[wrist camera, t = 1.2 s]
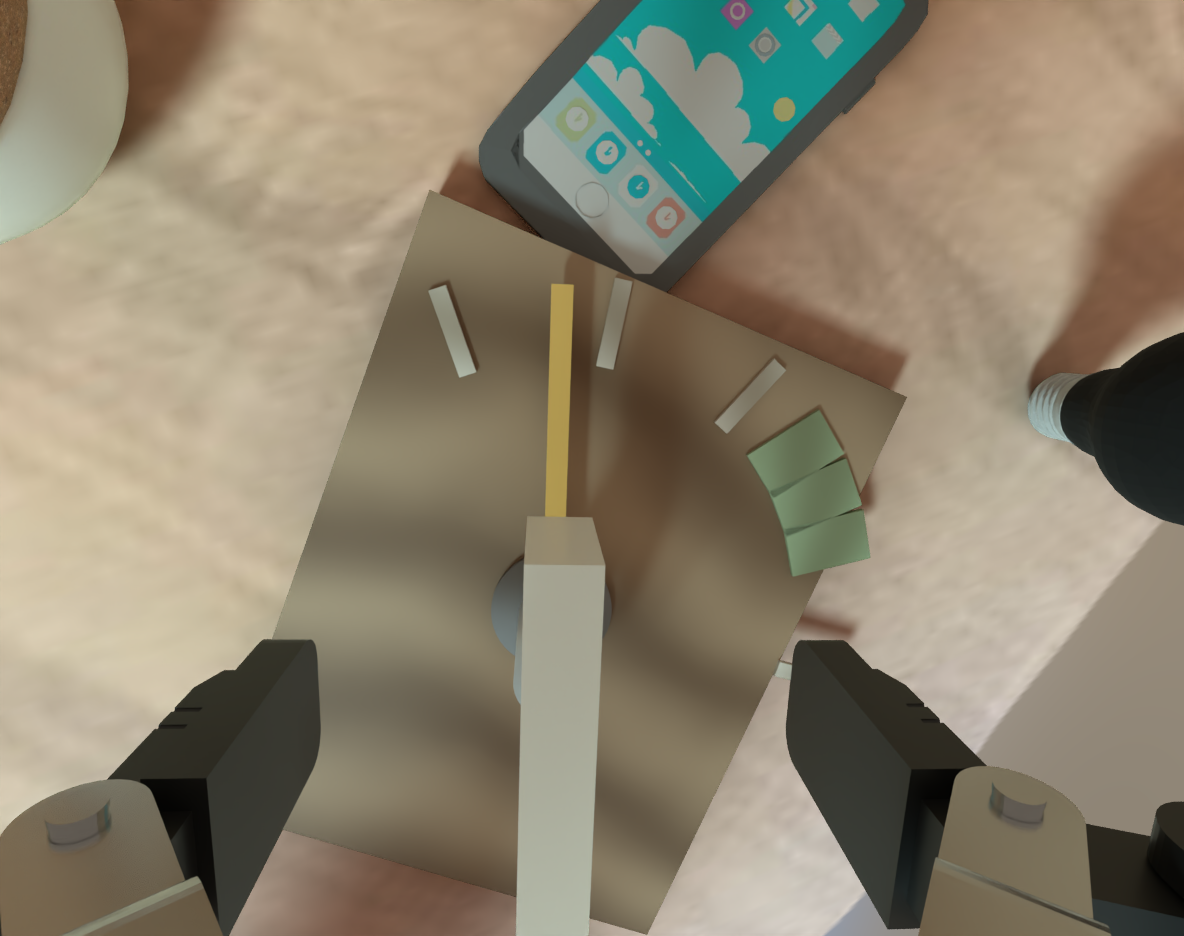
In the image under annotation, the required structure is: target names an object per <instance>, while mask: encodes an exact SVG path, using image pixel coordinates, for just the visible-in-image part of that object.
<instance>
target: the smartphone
mask: <svg viewBox="0 0 1184 936" xmlns="http://www.w3.org/2000/svg"><path fill="white" fill-rule="evenodd" d="M927 14H928V0H600V1H599V2H598V3H597V5H596V6H595V7H594V8H593V9H592V10H591V11H590V12H589V13H588V15H587V16H586V17H585V18H584V19H583V20H582V21H581V22H580V23H579V24H578V26H577V27H576V28H575V29H574V30H573V31H572V32H571V33H570V34H569V35H568V37H567V38H566V39H565V40H564V41H563V42H562V43H561V44H560V45H559V46H558V48H557V49H556V50H555V51H554V52H553V53H552V54H551V55H550V56H549V58H548V59H547V60H546V61H545V62H544V63H543V64H542V65H541V66H540V67H539V69H538V70H537V71H536V72H535V73H534V75H533V76H532V77H531V78H530V79H529V81H528V82H527V83H526V84H525V85H524V86H523V88H522V89H521V90H520V91H519V92H518V94H517V95H516V96H515V97H514V98H513V100H512V101H511V102H510V103H509V104H508V106H507V107H506V108H505V109H504V110H503V112H502V113H501V114H500V115H499V117H498V118H497V119H496V120H495V122H494V123H493V124H492V125H491V126H490V128H489V129H488V130H487V132H486V134H485V136H484V138H483V140H482V142H481V144H480V145H479V162H480V166H481V169H482V172H483V175H484V178H485V180H486V181H487V182H488V183H489V184H490V185H491V186H492V187H493V188H494V189H495V190H496V191H497V192H498V193H499V194H500V195H501V196H502V197H503V198H504V199H505V200H506V201H507V203H508V204H509V205H510V206H511V207H512V208H513V209H514V210H515V211H516V212H517V213H518V214H519V215H520V216H521V217H522V218H523V219H524V220H525V221H526V222H527V223H528V224H529V225H530V226H531V227H532V228H533V229H534V230H535V231H536V232H537V233H538V234H539V235H540V236H541V237H542V238H543V239H544V240H546V241H549V242H551V243H553V244H556V245H558V246H560V247H563V248H565V249H567V250H569V251H572V252H574V253H576V254H579V255H581V256H583V257H586V258H588V259H590V260H592V261H595V262H597V263H599V264H602V265H604V266H606V267H609V268H611V269H613V270H615V271H618V272H620V273H622V274H625V275H627V276H629V277H632V278H634V279H636V280H638V281H641V282H643V283H645V284H648V285H650V286H652V287H655V288H657V289H659V290H661V291H664V292H667V291H668V290H669V289H670V288H671V287H672V286H673V285H674V284H675V283H676V282H677V281H678V280H679V279H680V278H681V277H682V276H683V275H684V274H685V273H686V272H687V271H688V270H689V269H690V268H691V267H692V266H693V265H694V264H695V263H696V262H697V260H698V259H699V258H700V257H701V256H702V255H703V254H704V253H705V252H706V251H707V250H708V249H709V248H710V247H711V246H712V245H713V244H714V243H715V242H716V241H717V240H718V239H719V238H720V237H721V236H722V235H723V234H724V233H725V232H726V230H727V229H728V228H729V227H730V226H731V225H732V224H733V223H734V222H735V221H736V220H737V219H738V218H739V217H740V216H741V215H742V214H743V213H744V212H745V211H746V210H747V209H748V208H749V207H750V206H751V205H752V204H753V203H754V202H755V200H756V199H757V198H758V197H759V196H760V195H761V194H762V193H763V192H764V191H765V190H766V189H767V188H768V187H769V186H770V185H771V184H772V183H773V182H774V181H775V180H776V179H777V178H778V177H779V176H780V175H781V174H782V173H783V172H784V171H785V169H786V168H787V167H788V166H789V165H790V164H791V163H792V162H793V161H794V160H795V159H796V158H797V157H798V156H799V155H800V154H801V153H802V152H803V151H804V150H805V149H806V148H807V147H808V146H809V145H810V144H811V143H812V142H813V141H814V139H815V138H816V137H817V136H818V135H819V134H820V133H821V132H822V131H823V130H824V129H825V128H826V127H827V126H828V125H829V124H830V123H831V122H832V121H833V120H834V119H835V118H836V117H837V116H838V115H839V114H840V113H841V112H843V113H844V114H846V113H847V112H848V111H849V110H850V109H851V108H852V107H853V106H854V105H855V104H856V103H857V102H858V101H859V100H860V99H861V98H862V97H863V96H864V95H865V94H866V93H867V92H868V91H869V90H870V89H871V88H872V87H873V86H874V84H875V79H874V77H875V76H876V75H877V74H878V73H879V72H880V71H881V70H882V69H883V68H884V67H885V66H886V65H887V64H888V63H889V62H890V61H891V60H892V59H893V58H894V57H895V56H896V55H897V54H898V53H899V52H900V51H901V50H902V48H903V47H904V46H905V45H906V44H907V43H908V41H909V40H910V39H911V38H912V37H913V36H914V34H915V33H916V32H917V31H918V29H919V27H920V26H921V24H922V23H923V21H924V19H925V18H926V16H927Z"/></svg>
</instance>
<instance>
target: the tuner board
mask: <svg viewBox="0 0 1184 936" xmlns="http://www.w3.org/2000/svg"><path fill="white" fill-rule="evenodd" d="M551 284H570V285H574V291H573V320H572V350H571V380H570V410H569V439H568V469H567V499H566V517H592V518H593V522H594V526H595V529H596V533H597V537H598V540H599V544H600V547H601V551H602V555H603V558H604V562H605V587H604V609H603V631H602V653H601V674H600V696H599V718H598V740H597V762H596V784H595V806H594V827H593V849H592V871H591V893H590V915H589V918H591V919H594V920H598V921H601V922H605V923H608V924H611V925H615V926H618V927H622V928H625V929H629V930H632V931H636V932H639V933H643V934H646V935H647V934H648V931H649V929H650V927H651V925H652V923H653V921H654V919H655V917H656V915H657V913H658V911H659V909H660V907H661V905H662V903H663V900H664V898H665V896H666V894H667V892H668V890H669V888H670V886H671V884H672V882H673V880H674V878H675V876H676V874H677V872H678V869H679V867H680V865H681V863H682V861H683V859H684V857H685V855H686V853H687V851H688V849H689V847H690V845H691V843H692V841H693V838H694V836H695V834H696V832H697V830H698V828H699V826H700V824H701V822H702V820H703V818H704V816H705V814H706V812H707V810H708V807H709V805H710V803H711V801H712V799H713V797H714V795H715V793H716V791H717V789H718V787H719V785H720V783H721V781H722V779H723V776H724V774H725V772H726V770H727V768H728V766H729V764H730V762H731V760H732V758H733V756H734V754H735V752H736V750H737V748H738V745H739V743H740V741H741V739H742V737H743V735H744V733H745V731H746V729H747V727H748V725H749V723H750V721H751V719H752V717H753V714H754V712H755V710H756V708H757V706H758V704H759V702H760V700H761V698H762V696H763V694H764V692H765V690H766V688H767V686H768V683H769V681H770V679H771V677H772V675H773V674H774V676H776V677H780V678H783V679H787V680H791V671H792V663H789V662H785V661H781V660H780V659H781V657H782V655H783V652H784V650H785V648H786V646H787V644H788V642H789V640H790V638H791V636H792V634H793V632H794V630H795V628H796V626H797V624H798V621H799V619H800V617H801V615H802V613H803V611H804V609H805V607H806V605H807V603H808V601H809V599H810V597H811V595H812V593H813V590H814V588H815V586H816V584H817V582H818V580H819V578H820V576H821V574H822V572H823V570H824V569H827V568H831V567H835V566H839V565H843V564H847V563H852V562H856V561H860V560H864V559H868V558H870V551H869V545H868V538H867V531H866V524H865V517H864V510H862V509H858V510H854V511H852V510H853V509H854V508H857V507H859V506H861V505H862V503H861V500H860V497H859V495H860V493H861V491H862V489H863V487H864V485H865V483H866V481H867V479H868V477H869V475H870V473H871V471H872V468H873V466H874V464H875V462H876V460H877V458H878V456H879V454H880V452H881V450H882V448H883V446H884V444H885V442H886V440H887V437H888V435H889V433H890V431H891V429H892V427H893V425H894V423H895V421H896V419H897V417H898V415H899V413H900V411H901V409H902V406H903V404H904V402H905V400H906V398H907V397H905V396H903V395H901V394H899V393H896V392H894V391H892V390H889V389H887V388H885V387H882V386H880V385H878V384H876V383H873V382H871V381H869V380H866V379H864V378H862V377H859V376H857V375H855V374H853V373H850V372H848V371H846V370H843V369H841V368H839V367H836V366H834V365H832V364H830V363H827V362H825V361H823V360H820V359H818V358H816V357H813V356H811V355H809V354H807V353H804V352H802V351H800V350H797V349H795V348H793V347H790V346H788V345H786V344H783V343H781V342H779V341H777V340H774V339H772V338H770V337H767V336H765V335H763V334H760V333H758V332H756V331H754V330H751V329H749V328H747V327H744V326H742V325H740V324H737V323H735V322H733V321H731V320H728V319H726V318H724V317H721V316H719V315H717V314H714V313H712V312H710V311H708V310H705V309H703V308H701V307H698V306H696V305H694V304H691V303H689V302H687V301H685V300H682V299H680V298H678V297H675V296H673V295H671V294H668V293H666V292H664V291H661V290H659V289H657V288H655V287H652V286H650V285H648V284H645V283H643V282H641V281H638V280H636V279H634V278H632V277H629V276H627V275H625V274H622V273H620V272H618V271H615V270H613V269H611V268H609V267H606V266H604V265H602V264H599V263H597V262H595V261H592V260H590V259H588V258H586V257H583V256H581V255H579V254H576V253H574V252H572V251H569V250H567V249H565V248H563V247H560V246H558V245H556V244H553V243H551V242H549V241H546V240H544V239H542V238H539V237H537V236H535V235H533V234H530V233H528V232H526V231H523V230H521V229H519V228H516V227H514V226H512V225H510V224H507V223H505V222H503V221H500V220H498V219H496V218H493V217H491V216H489V215H487V214H484V213H482V212H480V211H477V210H475V209H473V208H470V207H468V206H466V205H464V204H461V203H459V202H457V201H454V200H452V199H450V198H447V197H445V196H443V195H441V194H438V193H436V192H434V191H431V190H429V193H428V196H427V199H426V202H425V204H424V207H423V210H422V213H421V216H420V219H419V222H418V224H417V227H416V230H415V233H414V236H413V239H412V242H411V244H410V247H409V250H408V253H407V256H406V259H405V262H404V264H403V267H402V270H401V273H400V276H399V279H398V281H397V284H396V287H395V290H394V293H393V296H392V299H391V301H390V304H389V307H388V310H387V313H386V316H385V319H384V321H383V324H382V327H381V330H380V333H379V336H378V339H377V341H376V344H375V347H374V350H373V353H372V356H371V359H370V361H369V364H368V367H367V370H366V373H365V376H364V379H363V381H362V384H361V387H360V390H359V393H358V396H357V399H356V401H355V404H354V407H353V410H352V413H351V416H350V418H349V421H348V424H347V427H346V430H345V433H344V436H343V438H342V441H341V444H340V447H339V450H338V453H337V456H336V458H335V461H334V464H333V467H332V470H331V473H330V476H329V478H328V481H327V484H326V487H325V490H324V493H323V496H322V498H321V501H320V504H319V507H318V510H317V513H316V516H315V518H314V521H313V524H312V527H311V530H310V533H309V536H308V538H307V541H306V544H305V547H304V550H303V553H302V555H301V558H300V561H299V564H298V567H297V570H296V573H295V575H294V578H293V581H292V584H291V587H290V590H289V593H288V595H287V598H286V601H285V604H284V607H283V610H282V613H281V615H280V618H279V621H278V624H277V627H276V630H275V633H274V635H273V638H272V639H311V640H313V641H314V643H315V645H316V650H317V660H318V680H319V700H320V720H321V737H320V746H319V752H318V756H317V760H316V763H315V766H314V768H313V771H312V773H311V775H310V777H309V779H308V781H307V783H306V785H305V787H304V788H303V790H302V792H301V794H300V796H299V798H298V800H297V802H296V804H295V806H294V808H293V810H292V812H291V814H290V816H289V818H288V820H287V822H286V824H285V826H284V828H283V830H286V831H289V832H293V833H296V834H300V835H303V836H307V837H310V838H314V839H317V840H321V841H324V842H327V843H331V844H334V845H338V846H341V847H345V848H348V849H352V850H355V851H359V852H362V853H366V854H369V855H372V856H376V857H379V858H383V859H386V860H390V861H393V862H397V863H400V864H404V865H407V866H411V867H414V868H418V869H421V870H424V871H428V872H431V873H435V874H438V875H442V876H445V877H449V878H452V879H456V880H459V881H463V882H466V883H469V884H473V885H476V886H480V887H483V888H487V889H490V890H494V891H497V892H501V893H504V894H508V895H511V896H514V897H517V858H518V812H519V766H520V720H521V705H520V703H519V702H518V700H517V698H516V696H515V693H514V688H513V679H514V666H515V653H516V640H517V627H518V614H519V608H520V605H521V603H522V601H523V582H524V556H525V541H526V527H527V516H544V517H545V497H546V460H547V424H548V387H549V351H550V315H551Z"/></svg>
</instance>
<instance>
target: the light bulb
mask: <svg viewBox="0 0 1184 936" xmlns="http://www.w3.org/2000/svg"><path fill="white" fill-rule="evenodd" d="M1028 416H1029V419H1030V422H1031V424H1032V425H1033V427H1034V428H1035V429H1036V430H1037V431H1038V432H1039V433H1041V434H1043V435H1045V436H1046V437H1050V438H1054V439H1058V440H1064V441H1068V442H1071V443H1072V444H1074V445H1075V446H1077V447H1078V448H1079V449H1081V450H1082V451H1084V452H1086V453H1088V454H1090V455H1092V456H1094V457H1095V459H1096V461H1097V463H1098V465H1099V468H1100V469H1101V471H1102V473H1103V474H1104V476H1105V477H1106V478H1107V480H1108V481H1109V482H1110V484H1111V485H1112V486H1113V488H1114V489H1115V490H1116V491H1117V492H1118V493H1120V494H1121V495H1122V496H1123V497H1124V498H1125V499H1126V500H1128V501H1129V502H1130V503H1132V504H1133V505H1135V506H1136V507H1138V508H1140V509H1142V510H1144V511H1146V512H1148V513H1149V514H1151V515H1153V516H1156V517H1158V518H1160V519H1162V520H1165V521H1169V522H1172V523H1176V524H1180V525H1184V332H1183V333H1179V334H1177V335H1174V336H1172V337H1169V338H1167V339H1164V340H1162V341H1160V342H1158V343H1155V344H1153V345H1151V346H1149V347H1147V348H1145V349H1144V350H1142V351H1140V352H1139V353H1138V354H1136V355H1135V356H1133V357H1132V358H1131V359H1130V360H1128V361H1127V362H1126V363H1124V364H1123V365H1122V366H1121V367H1120V368H1115V369H1108V370H1103V371H1100V372H1097V373H1092V374H1089V375H1086V374H1074V373H1058V374H1055V375H1052V376H1050V377H1049V378H1047V379H1045V380H1044V381H1043V382H1041V383H1040V384H1039V385H1038V386H1037V387H1036V388H1035V389H1034V391H1033V393H1032V395H1031V397H1030V399H1029V404H1028Z"/></svg>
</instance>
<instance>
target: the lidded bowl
mask: <svg viewBox="0 0 1184 936" xmlns="http://www.w3.org/2000/svg"><path fill="white" fill-rule="evenodd" d="M128 88H129V87H128V55H127V49H126V44H125V38H124V32H123V26H122V22H121V19H120V16H119V13H118V10H117V7H116V4H115V1H114V0H0V244H3V243H5V242H8V241H10V240H13V239H16V238H18V237H21V236H23V235H26V234H28V233H30V232H32V231H34V230H36V229H39V228H41V227H43V226H44V225H46V224H47V223H49V222H51V221H52V220H54V219H55V218H57V217H59V216H60V215H62V214H64V213H65V212H66V211H68V210H69V209H70V208H71V207H72V206H73V205H74V204H75V203H76V202H77V201H79V200H80V199H81V198H82V197H83V196H84V195H85V194H86V193H87V192H88V191H89V189H90V188H91V187H92V185H93V184H94V183H95V181H96V180H97V179H98V177H99V176H100V175H101V173H102V172H103V171H104V169H105V167H106V165H107V163H108V161H109V159H110V157H111V155H112V153H113V151H114V149H115V147H116V145H117V142H118V139H119V136H120V132H121V129H122V126H123V123H124V118H125V111H126V103H127V96H128Z"/></svg>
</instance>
